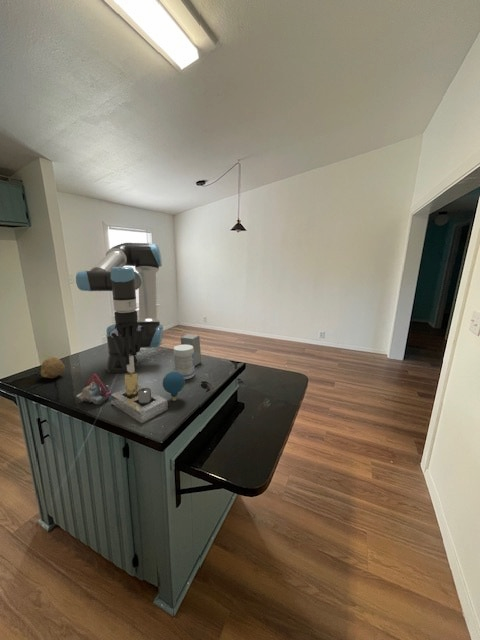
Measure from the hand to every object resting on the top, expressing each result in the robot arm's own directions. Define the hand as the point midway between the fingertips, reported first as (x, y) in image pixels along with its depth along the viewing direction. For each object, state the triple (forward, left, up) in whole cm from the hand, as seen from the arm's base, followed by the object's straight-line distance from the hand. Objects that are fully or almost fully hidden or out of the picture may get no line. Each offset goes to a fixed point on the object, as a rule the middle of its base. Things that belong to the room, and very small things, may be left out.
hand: (130, 371), depth 96 cm
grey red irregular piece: (-13, -8, -14) cm, 21 cm away
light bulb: (+11, +11, -13) cm, 21 cm away
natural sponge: (-49, -10, -13) cm, 52 cm away
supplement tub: (-3, +29, -14) cm, 32 cm away
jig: (+4, 0, -13) cm, 14 cm away
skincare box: (-12, +42, -14) cm, 45 cm away
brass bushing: (0, 0, -13) cm, 13 cm away
